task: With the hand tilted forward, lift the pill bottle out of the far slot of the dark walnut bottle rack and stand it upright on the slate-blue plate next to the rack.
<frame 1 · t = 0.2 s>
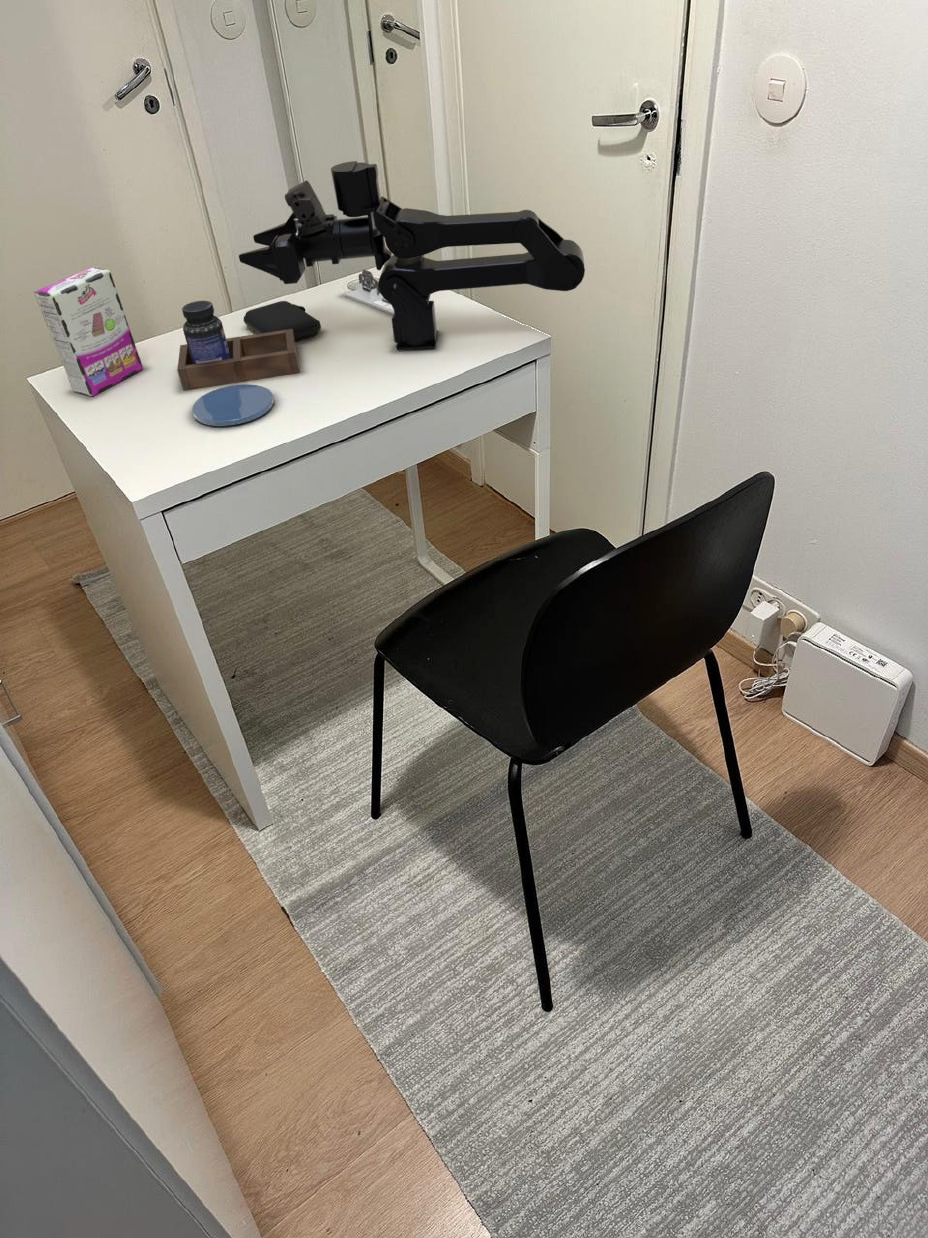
hand: (246, 248, 141), 17 cm above the table, tool horizontal, fingers open, 9 cm apart
candy bar box: (108, 381, 147), on the table
rack: (241, 368, 146), on the table
carrying case: (286, 331, 157), on the table
pill bottle: (215, 374, 146), resting in rack
plate: (234, 408, 135), on the table
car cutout: (383, 300, 165), on the table
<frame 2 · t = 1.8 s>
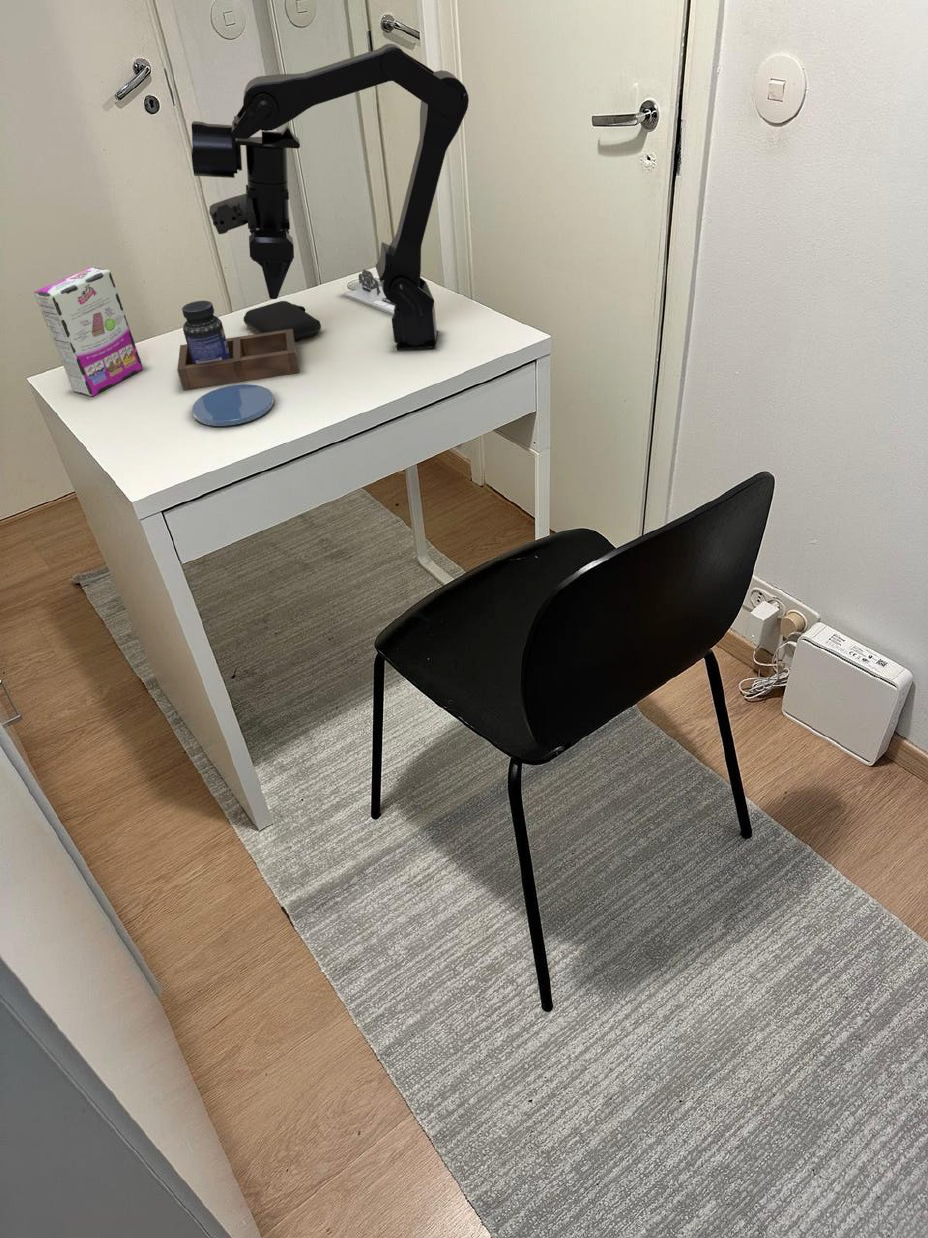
hand: (272, 288, 139), 12 cm above the table, tool pointing down, fingers open, 9 cm apart
nothing on the table moved.
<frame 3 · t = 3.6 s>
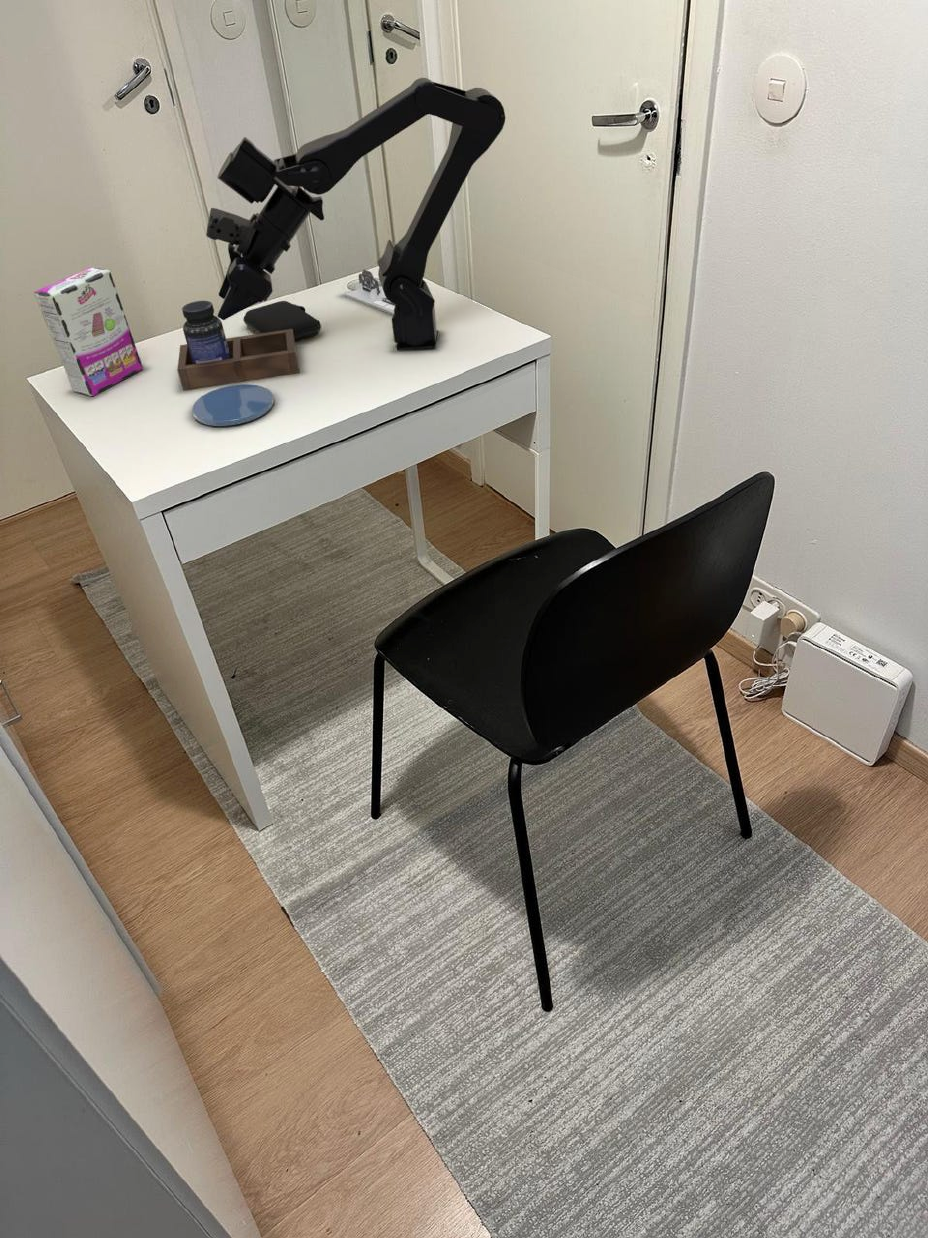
hand: (220, 307, 139), 10 cm above the table, tool tilted 45°, fingers open, 9 cm apart
nothing on the table moved.
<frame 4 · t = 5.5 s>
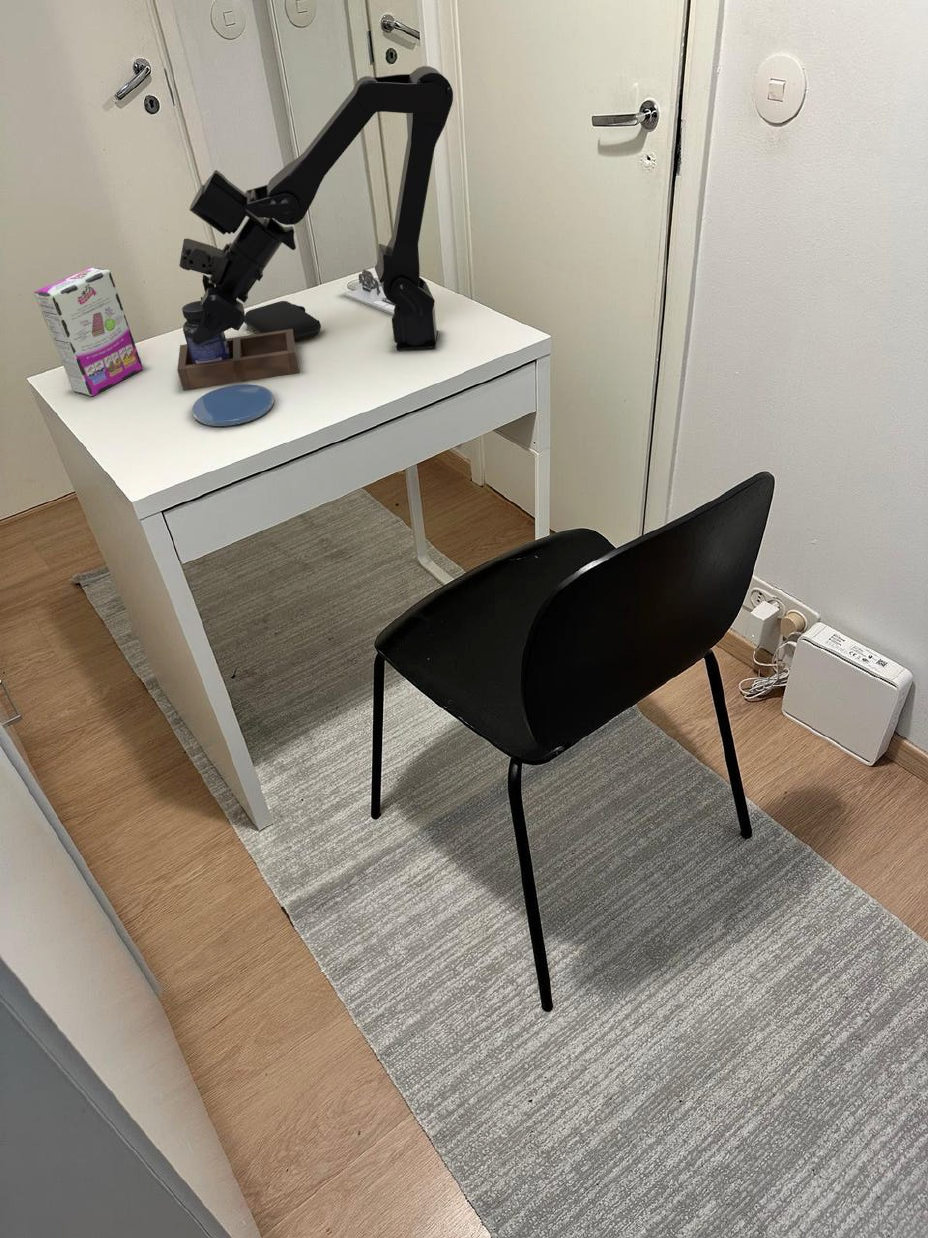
hand: (195, 334, 141), 7 cm above the table, tool tilted 45°, fingers closed on pill bottle, 6 cm apart
pill bottle: (215, 374, 146), resting in rack, touching gripper
everything else where it was.
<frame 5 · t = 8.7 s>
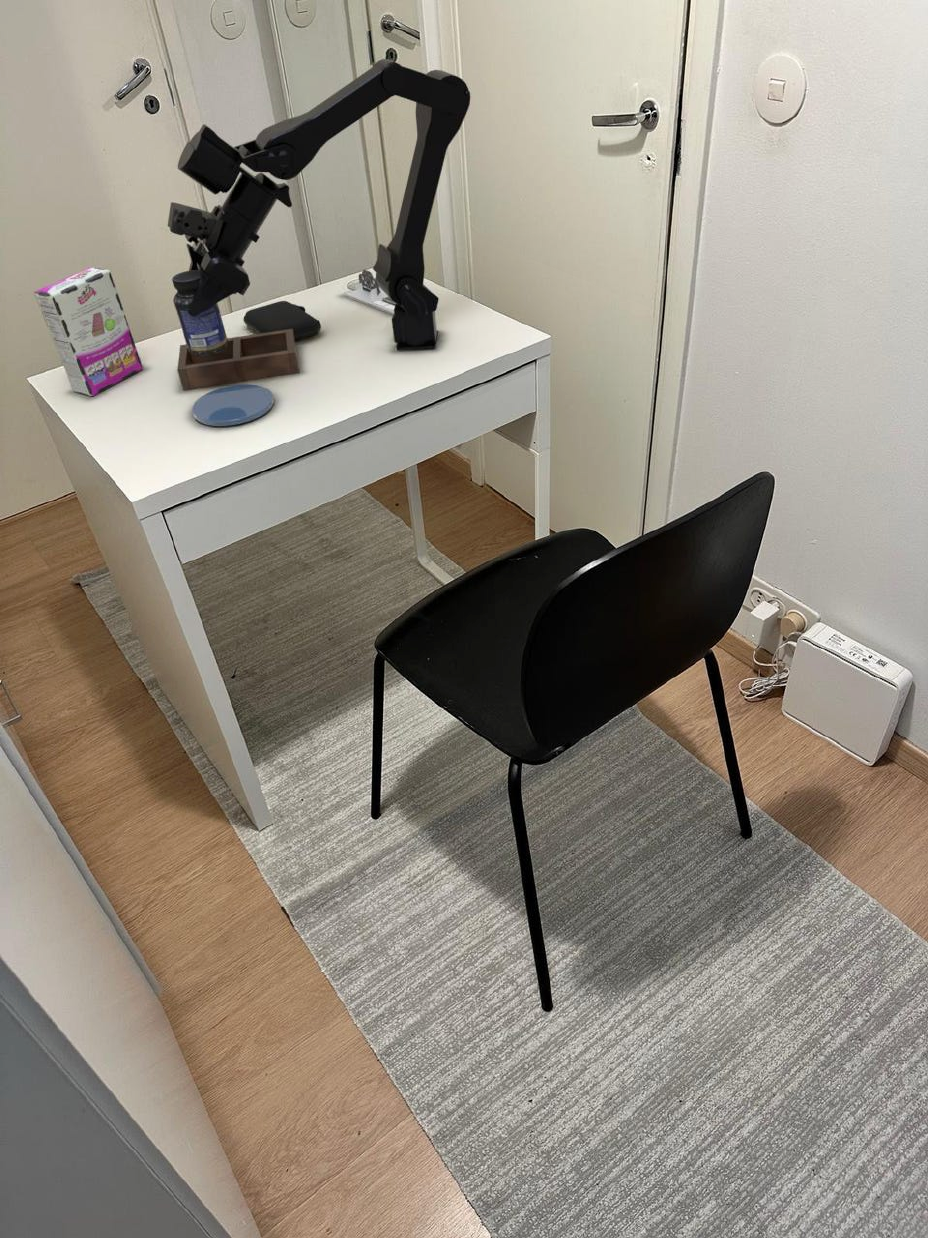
hand: (187, 307, 132), 13 cm above the table, tool tilted 45°, fingers closed on pill bottle, 6 cm apart
pill bottle: (209, 349, 137), point 6 cm above the table, touching gripper
everything else where it was.
when the fingers open (8 cm above the table, at t = 12.1 s): pill bottle stays where it is, resting on plate.
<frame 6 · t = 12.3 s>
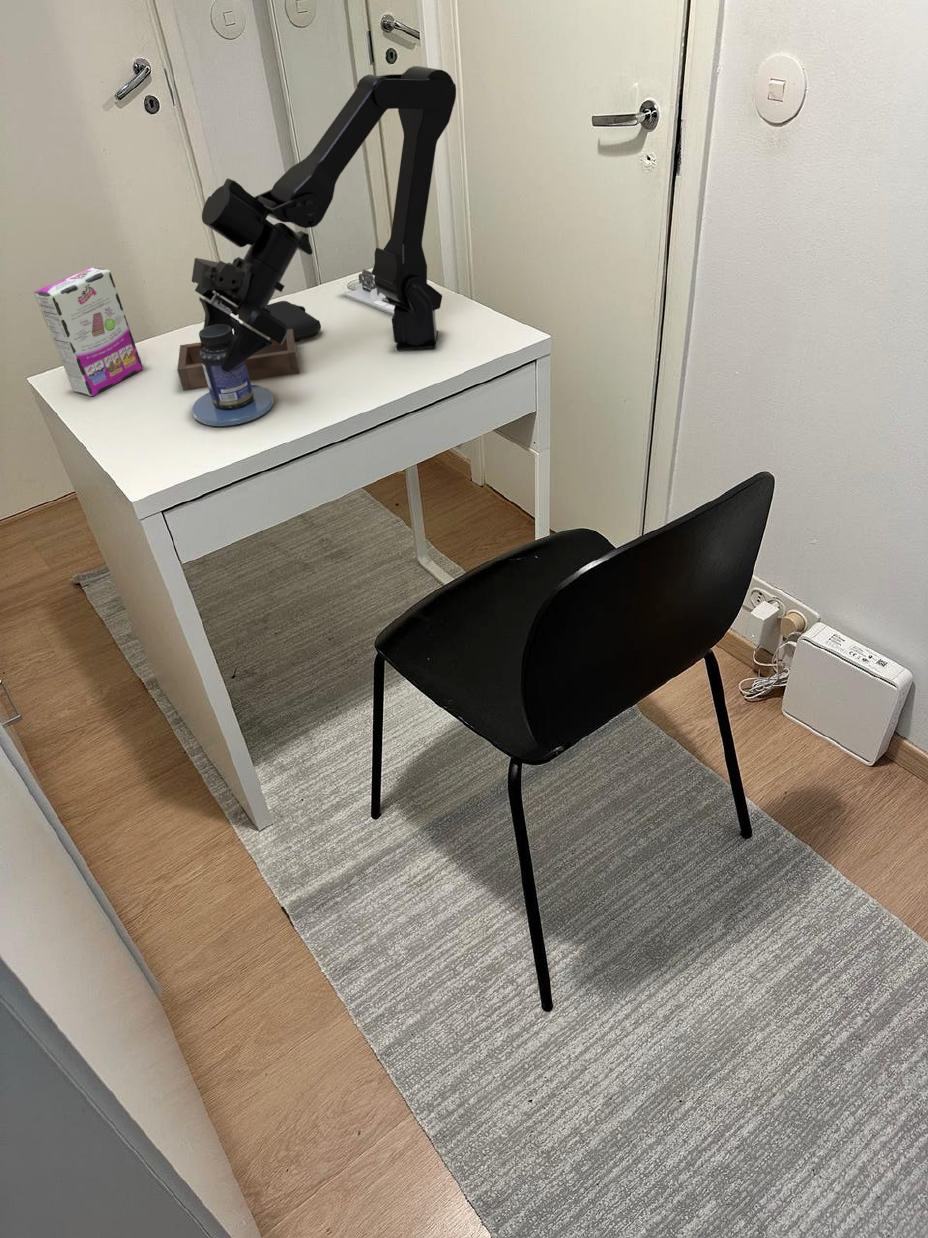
hand: (212, 362, 130), 8 cm above the table, tool tilted 45°, fingers open, 7 cm apart
pill bottle: (234, 402, 135), point 1 cm above the table, touching plate
everything else where it was.
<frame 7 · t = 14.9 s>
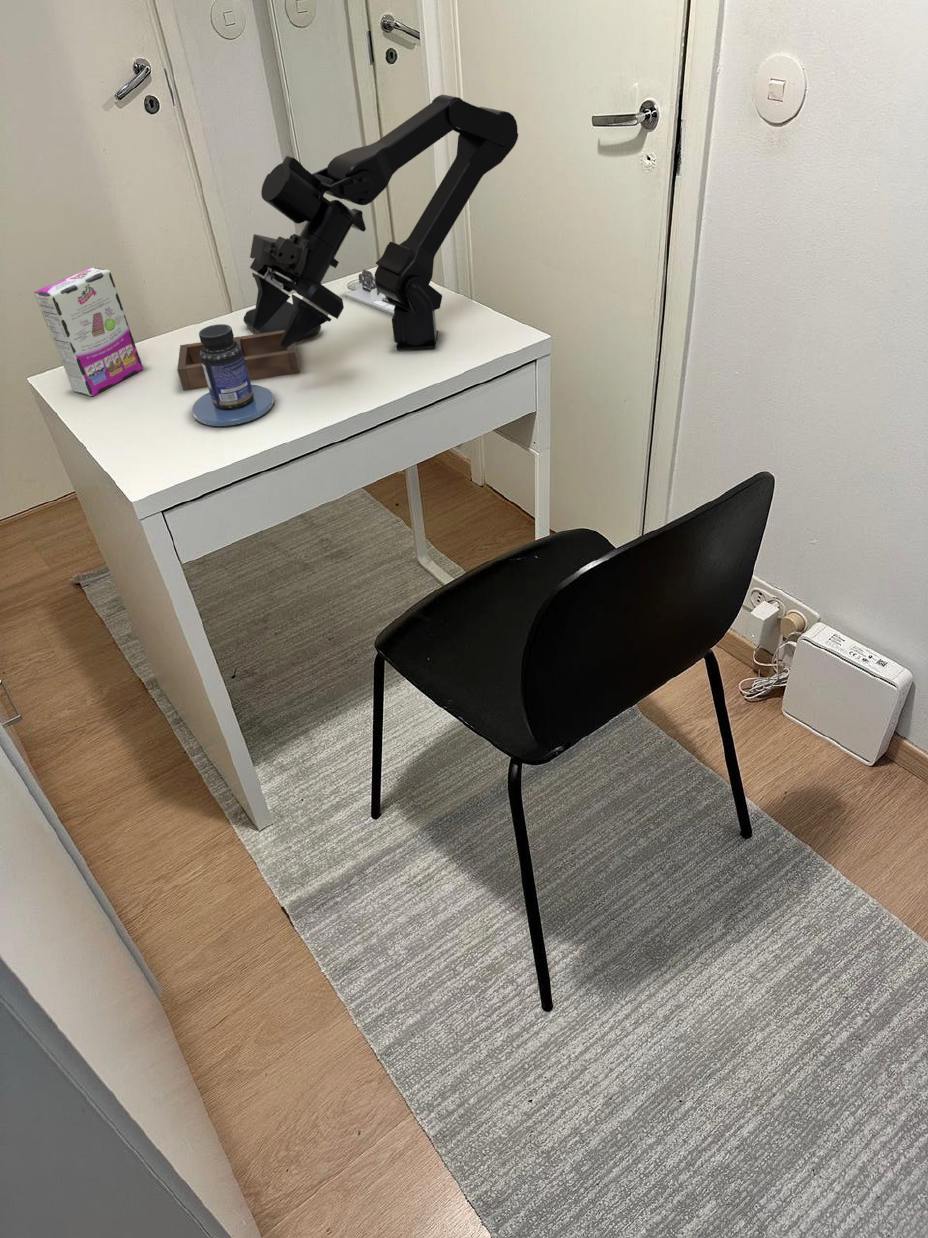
hand: (268, 337, 133), 9 cm above the table, tool tilted 45°, fingers open, 9 cm apart
nothing on the table moved.
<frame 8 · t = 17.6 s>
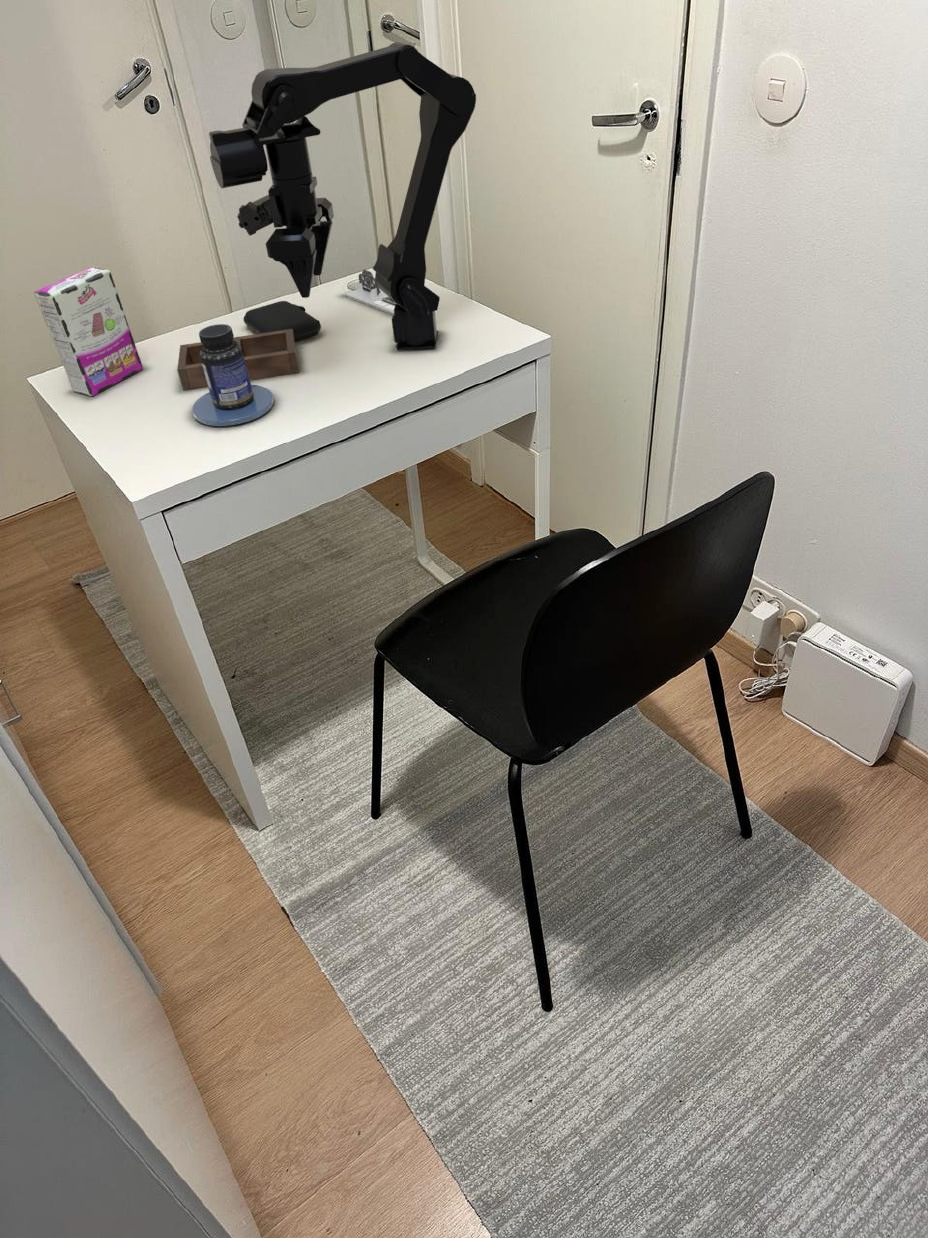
hand: (311, 285, 136), 13 cm above the table, tool pointing down, fingers open, 9 cm apart
nothing on the table moved.
at the end: pill bottle 0.2 cm from the plate (horizontally); pill bottle touching plate; pill bottle tilted 0° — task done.
